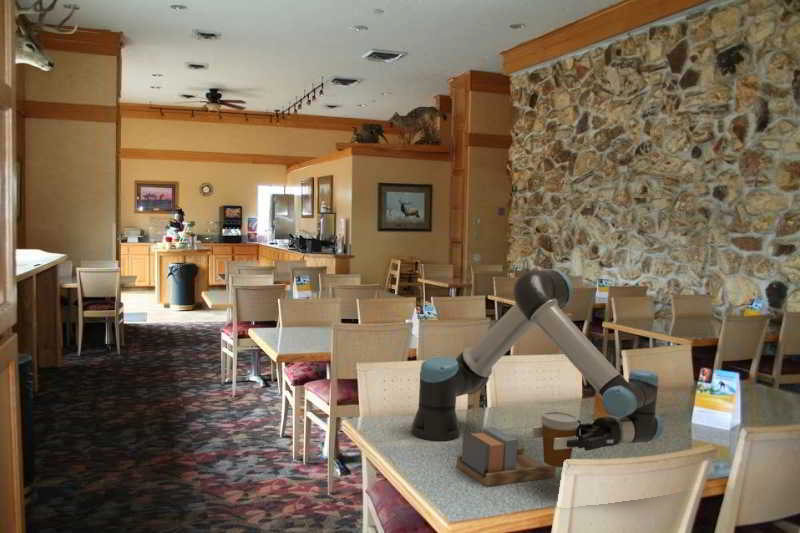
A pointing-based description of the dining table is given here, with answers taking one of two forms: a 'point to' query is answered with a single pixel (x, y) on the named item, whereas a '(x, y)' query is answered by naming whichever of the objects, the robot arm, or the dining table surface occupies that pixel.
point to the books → (499, 449)
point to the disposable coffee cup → (557, 436)
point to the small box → (599, 407)
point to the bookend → (475, 454)
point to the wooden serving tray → (514, 471)
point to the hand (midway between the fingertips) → (543, 438)
